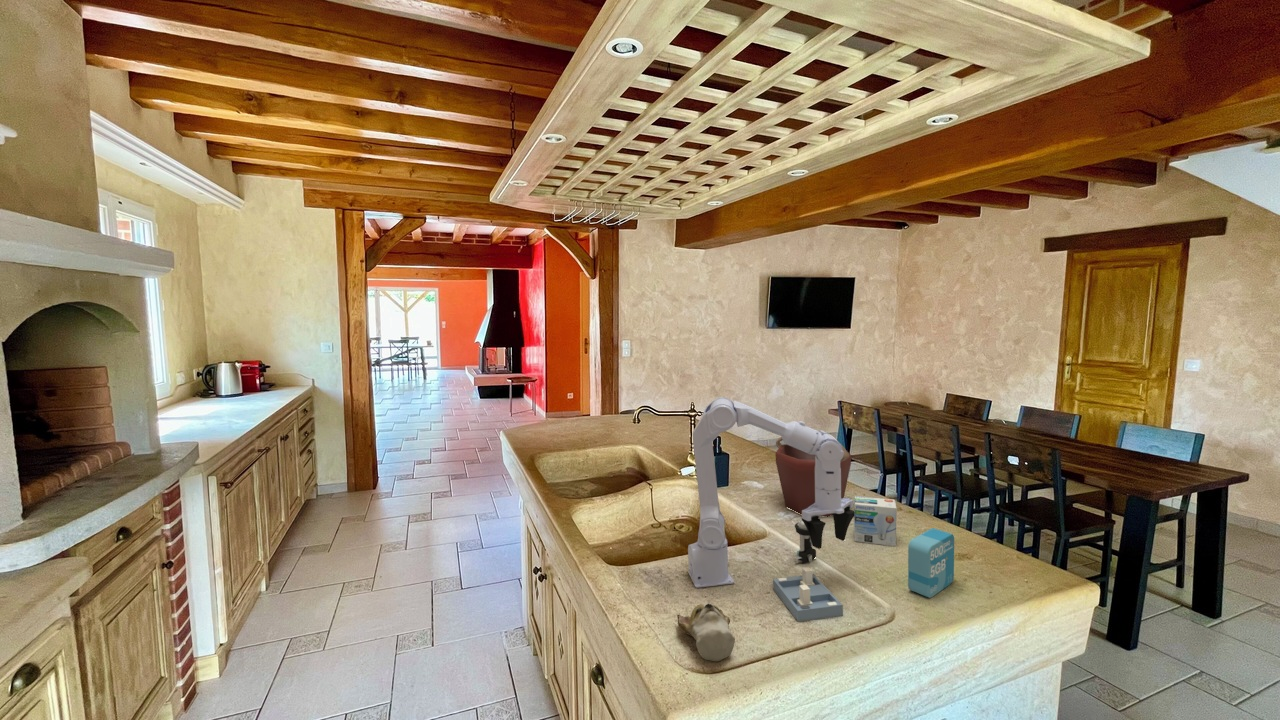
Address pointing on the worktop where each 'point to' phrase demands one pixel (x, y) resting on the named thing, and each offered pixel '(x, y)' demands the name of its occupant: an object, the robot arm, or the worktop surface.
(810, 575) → the tab far
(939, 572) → the data package
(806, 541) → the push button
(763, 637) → the worktop surface
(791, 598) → the dip bank
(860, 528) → the light bulb box
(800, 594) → the tab near
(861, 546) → the worktop surface
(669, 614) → the worktop surface
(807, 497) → the bucket
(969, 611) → the worktop surface
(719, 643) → the ceramic sculpture
